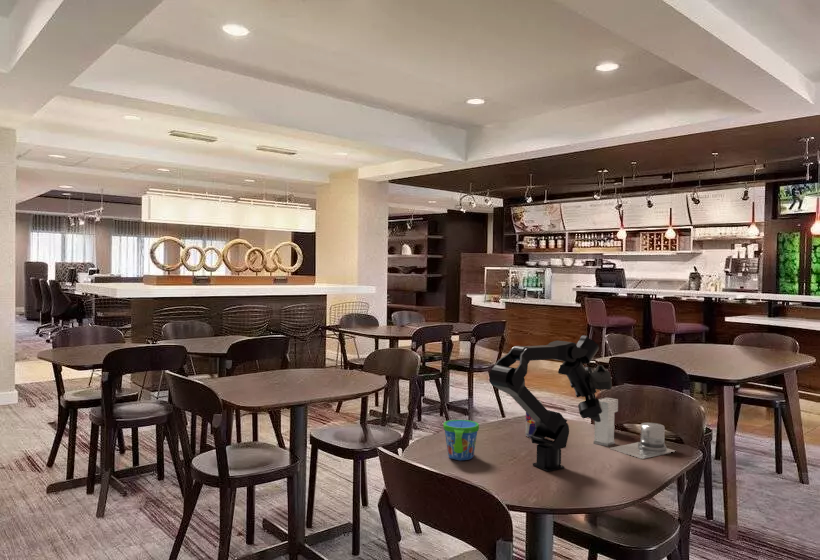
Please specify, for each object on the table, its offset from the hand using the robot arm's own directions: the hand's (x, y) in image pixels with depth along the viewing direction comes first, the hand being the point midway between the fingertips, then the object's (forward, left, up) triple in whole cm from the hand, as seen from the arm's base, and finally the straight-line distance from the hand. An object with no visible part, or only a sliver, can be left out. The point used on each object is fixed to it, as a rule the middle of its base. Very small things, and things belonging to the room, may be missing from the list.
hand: (596, 410), depth 183 cm
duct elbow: (+12, +7, -13) cm, 19 cm away
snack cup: (-39, +16, -13) cm, 45 cm away
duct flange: (+16, -5, -13) cm, 21 cm away
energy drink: (-4, +23, -13) cm, 27 cm away
